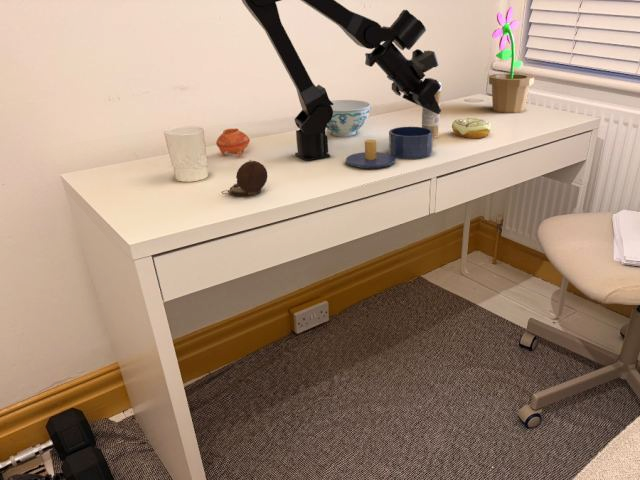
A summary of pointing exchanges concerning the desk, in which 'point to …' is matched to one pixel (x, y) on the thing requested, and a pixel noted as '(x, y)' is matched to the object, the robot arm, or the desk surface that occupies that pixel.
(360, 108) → the chinaware
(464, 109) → the desk surface
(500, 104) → the flowerpot
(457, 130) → the decorated donut
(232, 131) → the pot
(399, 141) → the tin
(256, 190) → the compass
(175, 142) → the white cup
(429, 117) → the sprinkles bottle
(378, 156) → the tin lid
